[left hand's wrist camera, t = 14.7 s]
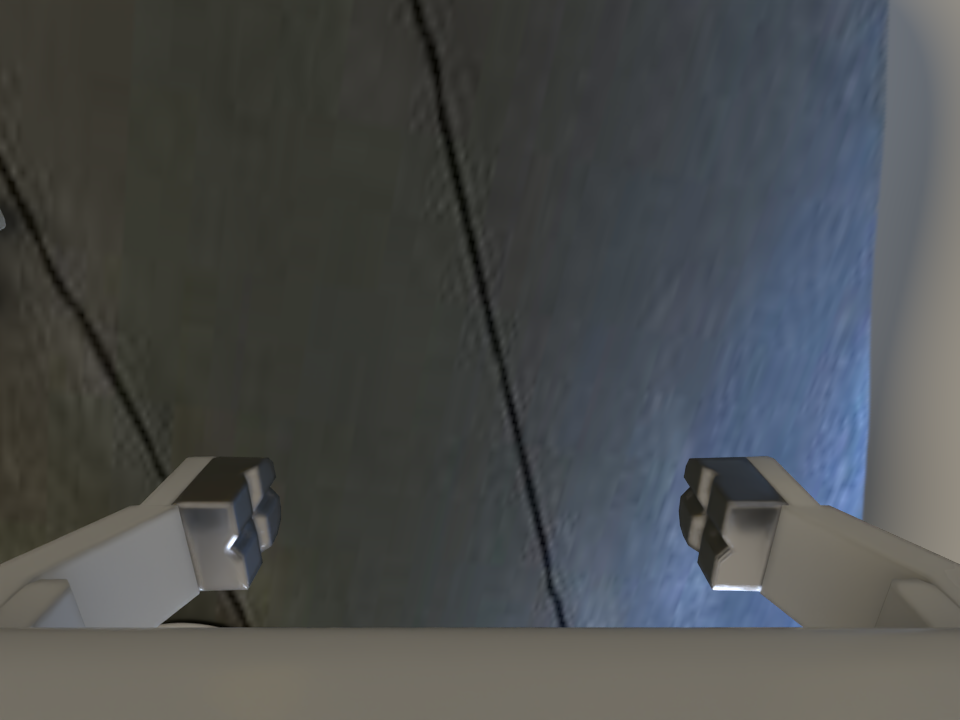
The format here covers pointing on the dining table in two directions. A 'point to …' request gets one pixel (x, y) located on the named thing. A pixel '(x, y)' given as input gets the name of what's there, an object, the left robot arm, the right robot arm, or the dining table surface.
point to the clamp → (2, 221)
